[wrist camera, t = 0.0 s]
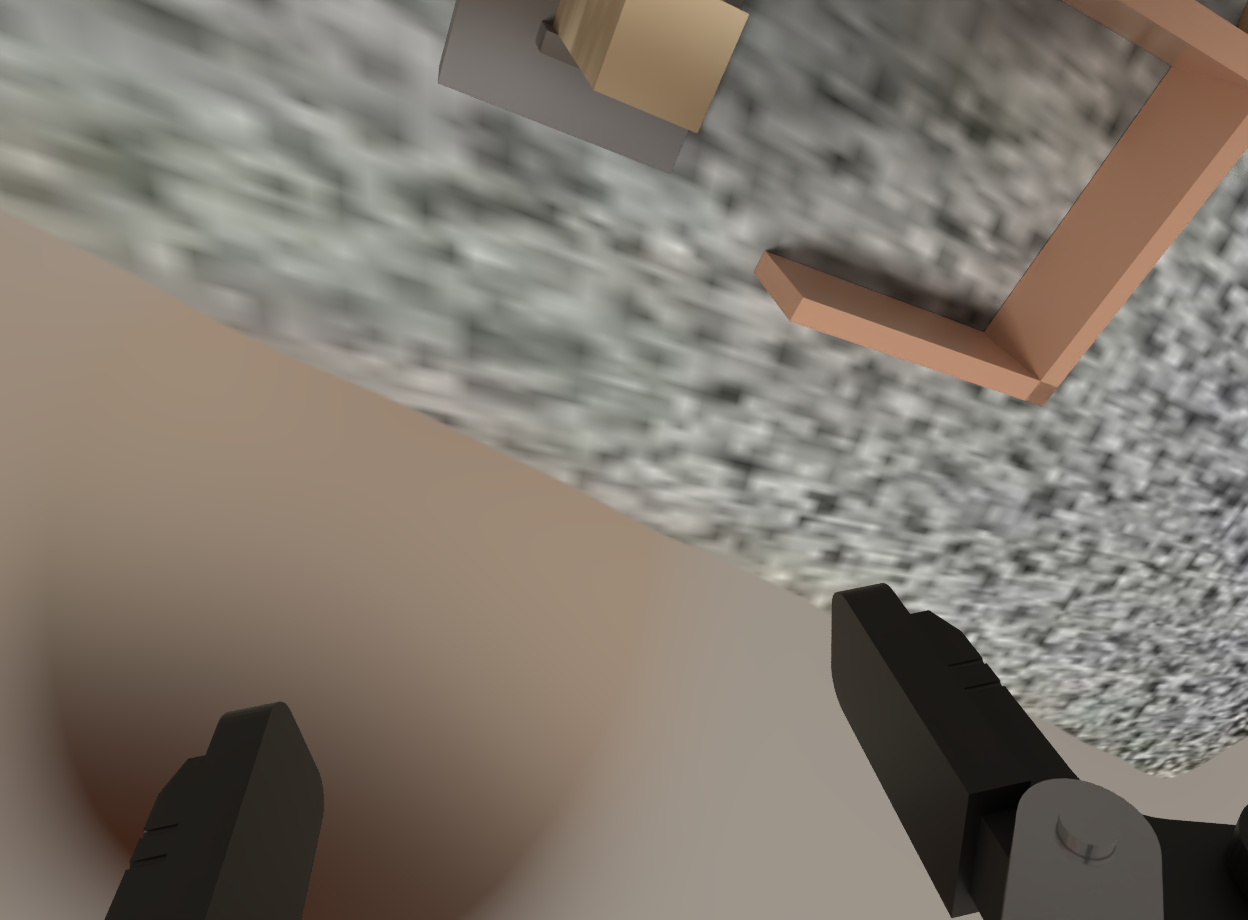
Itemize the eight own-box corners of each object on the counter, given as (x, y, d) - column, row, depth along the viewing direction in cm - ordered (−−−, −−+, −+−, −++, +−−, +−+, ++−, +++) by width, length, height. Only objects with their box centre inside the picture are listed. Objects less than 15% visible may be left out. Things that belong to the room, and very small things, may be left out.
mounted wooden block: (513, -224, 23) (555, -296, 13) (752, -93, 25) (928, -74, 16) (439, 64, 27) (429, 169, 17) (652, 150, 29) (746, 280, 20)
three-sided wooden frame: (951, -111, 26) (1030, -108, 22) (1207, 49, 30) (1306, 73, 27) (753, 272, 33) (789, 321, 29) (986, 355, 37) (1042, 406, 34)
